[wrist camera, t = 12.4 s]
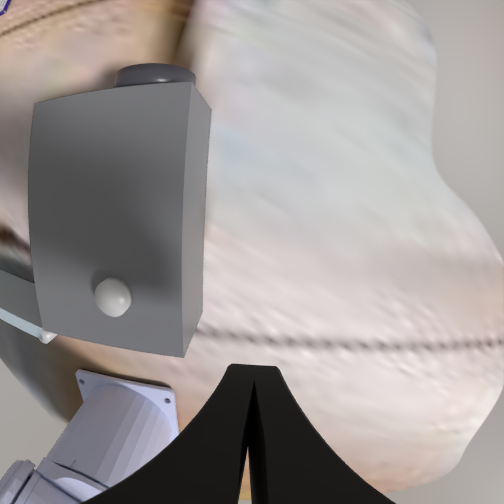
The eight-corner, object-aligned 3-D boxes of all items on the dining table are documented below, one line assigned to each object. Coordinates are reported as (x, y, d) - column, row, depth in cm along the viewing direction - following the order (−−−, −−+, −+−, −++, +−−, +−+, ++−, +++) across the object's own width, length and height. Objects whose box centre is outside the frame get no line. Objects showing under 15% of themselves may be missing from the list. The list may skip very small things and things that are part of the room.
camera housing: (202, 312, 18) (180, 365, 12) (85, 297, 18) (37, 335, 12) (213, 89, 15) (192, 49, 9) (87, 99, 15) (31, 78, 9)
